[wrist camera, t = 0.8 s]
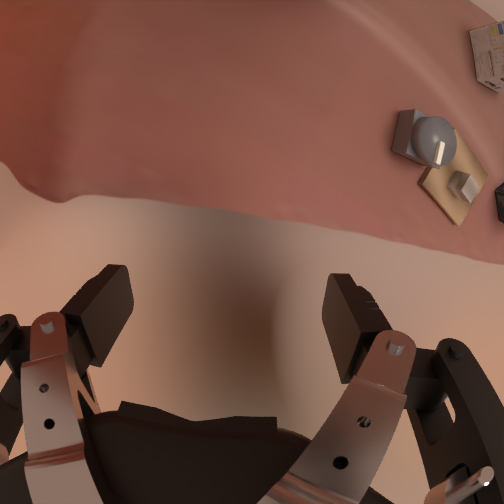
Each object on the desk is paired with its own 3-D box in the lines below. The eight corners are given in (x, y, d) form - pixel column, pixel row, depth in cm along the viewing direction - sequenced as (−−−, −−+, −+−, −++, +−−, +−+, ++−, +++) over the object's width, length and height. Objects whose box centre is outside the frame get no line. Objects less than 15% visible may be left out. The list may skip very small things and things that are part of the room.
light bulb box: (497, 93, 25) (539, 94, 15) (475, 81, 25) (520, 78, 15) (490, 43, 21) (528, 37, 11) (467, 29, 21) (506, 18, 11)
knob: (400, 110, 29) (429, 108, 22) (432, 127, 29) (463, 129, 23) (391, 150, 31) (419, 155, 25) (424, 165, 32) (454, 173, 25)
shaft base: (450, 127, 29) (469, 129, 25) (483, 173, 31) (501, 179, 27) (417, 182, 33) (436, 189, 28) (454, 224, 35) (472, 234, 31)
